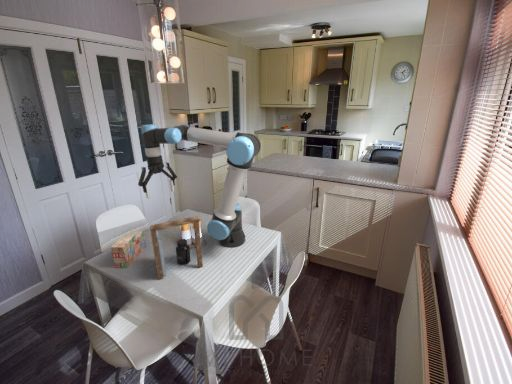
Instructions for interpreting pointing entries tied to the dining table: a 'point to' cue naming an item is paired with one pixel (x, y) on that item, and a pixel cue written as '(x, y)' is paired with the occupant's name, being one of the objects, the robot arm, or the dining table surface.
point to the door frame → (173, 224)
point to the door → (161, 254)
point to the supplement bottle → (183, 252)
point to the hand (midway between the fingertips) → (160, 194)
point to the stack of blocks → (128, 249)
